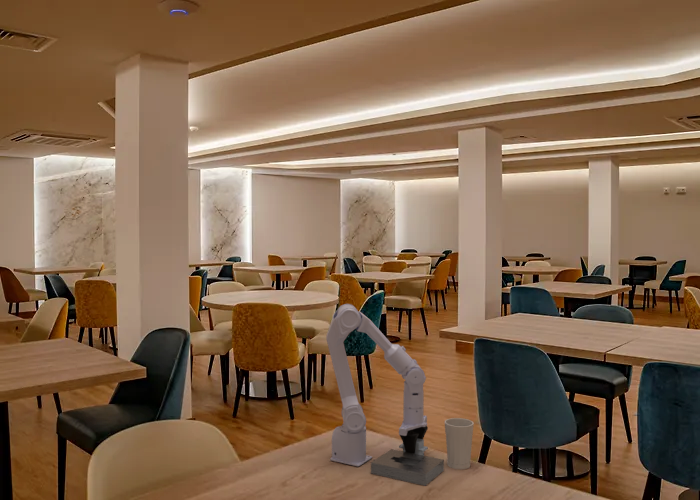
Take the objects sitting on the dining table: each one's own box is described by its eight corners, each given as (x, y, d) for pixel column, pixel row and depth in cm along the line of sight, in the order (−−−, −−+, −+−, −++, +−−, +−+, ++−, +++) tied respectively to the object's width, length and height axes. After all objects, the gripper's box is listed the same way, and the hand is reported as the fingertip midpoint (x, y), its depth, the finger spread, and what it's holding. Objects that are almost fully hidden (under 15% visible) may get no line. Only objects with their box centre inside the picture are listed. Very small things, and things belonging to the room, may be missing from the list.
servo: (398, 458, 180) (398, 439, 180) (403, 454, 183) (403, 435, 183) (422, 463, 176) (422, 443, 176) (427, 459, 179) (427, 440, 179)
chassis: (370, 473, 168) (370, 462, 168) (391, 459, 179) (391, 449, 179) (425, 485, 160) (425, 474, 160) (443, 470, 170) (443, 459, 170)
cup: (473, 471, 170) (473, 427, 169) (443, 469, 171) (443, 425, 171) (473, 460, 178) (473, 418, 177) (445, 458, 179) (445, 417, 179)
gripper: (415, 414, 171) (415, 464, 171) (436, 402, 183) (436, 448, 184) (392, 411, 174) (392, 459, 175) (414, 399, 187) (414, 444, 187)
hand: (413, 453), depth 179 cm, fingers open, 4 cm apart
